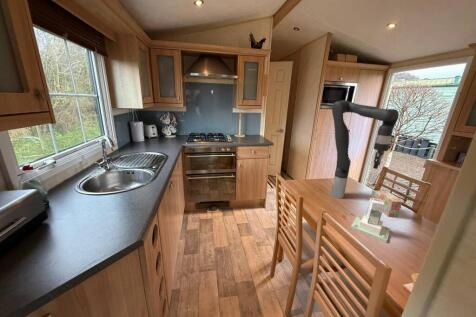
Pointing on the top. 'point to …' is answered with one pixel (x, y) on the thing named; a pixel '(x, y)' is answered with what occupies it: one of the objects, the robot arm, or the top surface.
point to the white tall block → (374, 211)
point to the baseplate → (380, 237)
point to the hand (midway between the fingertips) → (376, 166)
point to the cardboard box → (388, 203)
